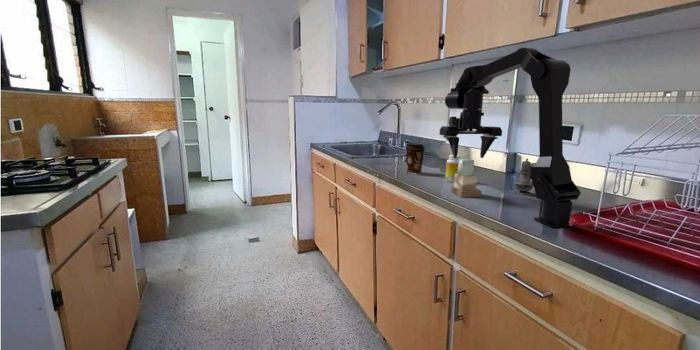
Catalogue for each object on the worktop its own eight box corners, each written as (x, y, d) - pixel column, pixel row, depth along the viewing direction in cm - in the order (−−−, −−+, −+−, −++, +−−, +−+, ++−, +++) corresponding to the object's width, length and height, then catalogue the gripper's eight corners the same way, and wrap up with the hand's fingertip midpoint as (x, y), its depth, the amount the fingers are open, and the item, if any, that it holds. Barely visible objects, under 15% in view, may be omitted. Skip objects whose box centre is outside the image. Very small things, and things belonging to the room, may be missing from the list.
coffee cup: (400, 171, 151) (401, 143, 148) (415, 170, 154) (416, 142, 152) (411, 175, 143) (412, 144, 140) (427, 174, 146) (429, 144, 144)
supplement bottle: (459, 182, 129) (461, 156, 127) (444, 181, 131) (446, 155, 129) (460, 180, 134) (462, 154, 132) (446, 179, 136) (448, 154, 134)
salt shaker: (535, 196, 110) (539, 159, 107) (516, 195, 111) (520, 159, 108) (529, 192, 115) (533, 157, 113) (511, 191, 116) (515, 156, 114)
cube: (475, 189, 109) (477, 176, 108) (461, 190, 108) (463, 176, 107) (467, 186, 114) (468, 173, 113) (454, 187, 113) (455, 173, 112)
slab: (480, 198, 108) (481, 190, 108) (460, 198, 107) (461, 191, 107) (470, 193, 115) (471, 186, 115) (451, 193, 114) (451, 186, 114)
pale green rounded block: (475, 176, 108) (477, 160, 108) (462, 176, 108) (463, 160, 107) (468, 173, 113) (469, 158, 112) (454, 173, 112) (455, 158, 111)
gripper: (486, 109, 115) (482, 154, 118) (434, 108, 113) (431, 154, 116) (505, 109, 104) (500, 159, 107) (448, 108, 102) (445, 159, 105)
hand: (468, 158), depth 109 cm, fingers open, 9 cm apart
